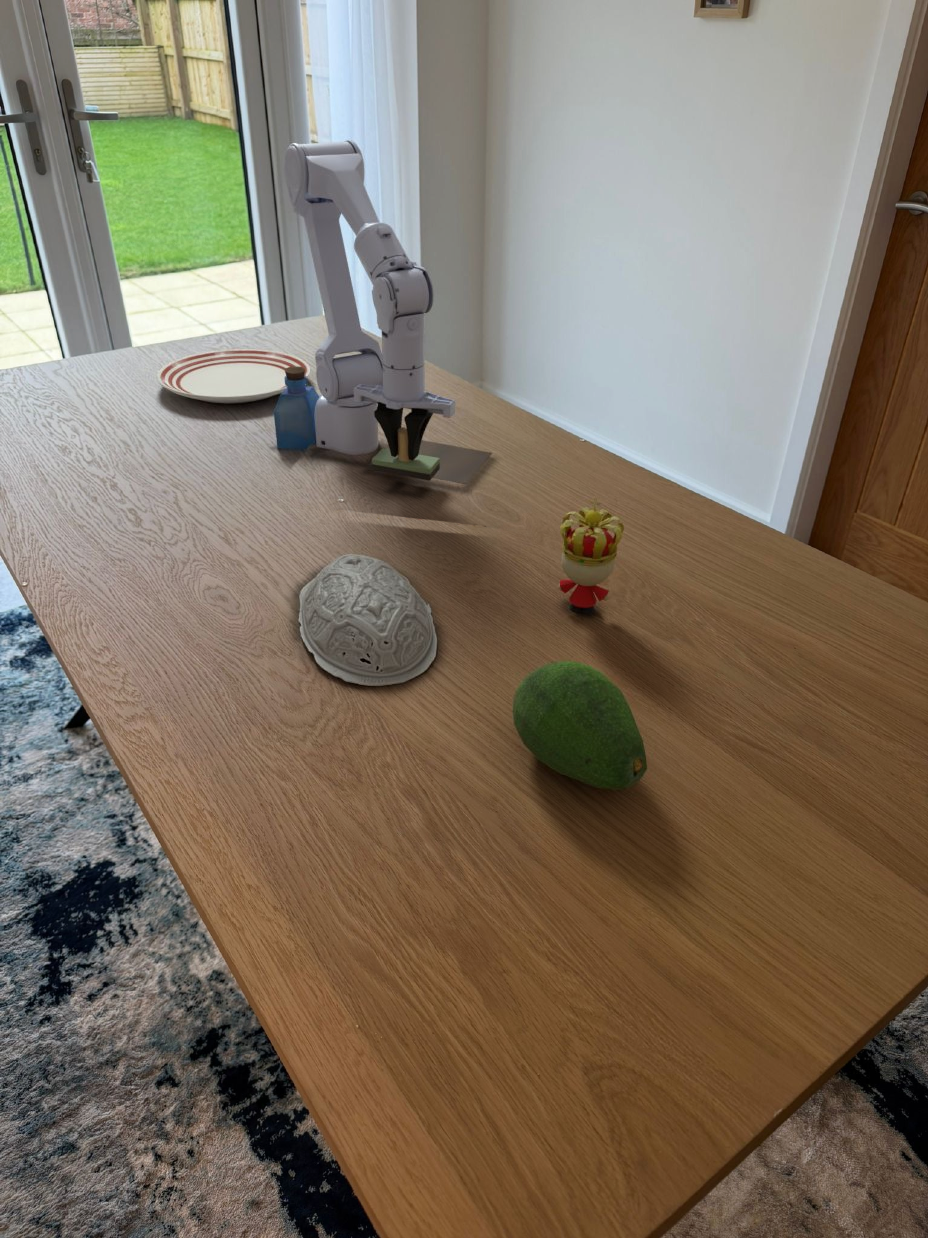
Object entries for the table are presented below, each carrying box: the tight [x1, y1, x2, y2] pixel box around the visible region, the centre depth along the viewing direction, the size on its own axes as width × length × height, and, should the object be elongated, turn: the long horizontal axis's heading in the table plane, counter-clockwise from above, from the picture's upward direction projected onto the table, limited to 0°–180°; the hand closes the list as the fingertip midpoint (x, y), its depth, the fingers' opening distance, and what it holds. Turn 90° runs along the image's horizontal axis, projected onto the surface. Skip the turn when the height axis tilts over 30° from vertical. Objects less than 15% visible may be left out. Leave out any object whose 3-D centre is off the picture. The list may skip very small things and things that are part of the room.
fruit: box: [511, 659, 648, 791], centre depth 83 cm, size 15×10×10 cm, turn 28°
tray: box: [368, 439, 493, 485], centre depth 139 cm, size 16×12×1 cm
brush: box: [371, 426, 440, 482], centre depth 128 cm, size 9×4×6 cm, turn 71°
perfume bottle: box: [273, 366, 320, 451], centre depth 143 cm, size 6×6×12 cm
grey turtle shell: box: [298, 553, 438, 687], centre depth 103 cm, size 16×25×7 cm, turn 16°
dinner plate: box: [156, 348, 311, 404], centre depth 165 cm, size 27×27×3 cm
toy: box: [557, 497, 625, 616], centre depth 103 cm, size 7×7×15 cm
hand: (404, 455), depth 129 cm, fingers closed on brush, 2 cm apart
